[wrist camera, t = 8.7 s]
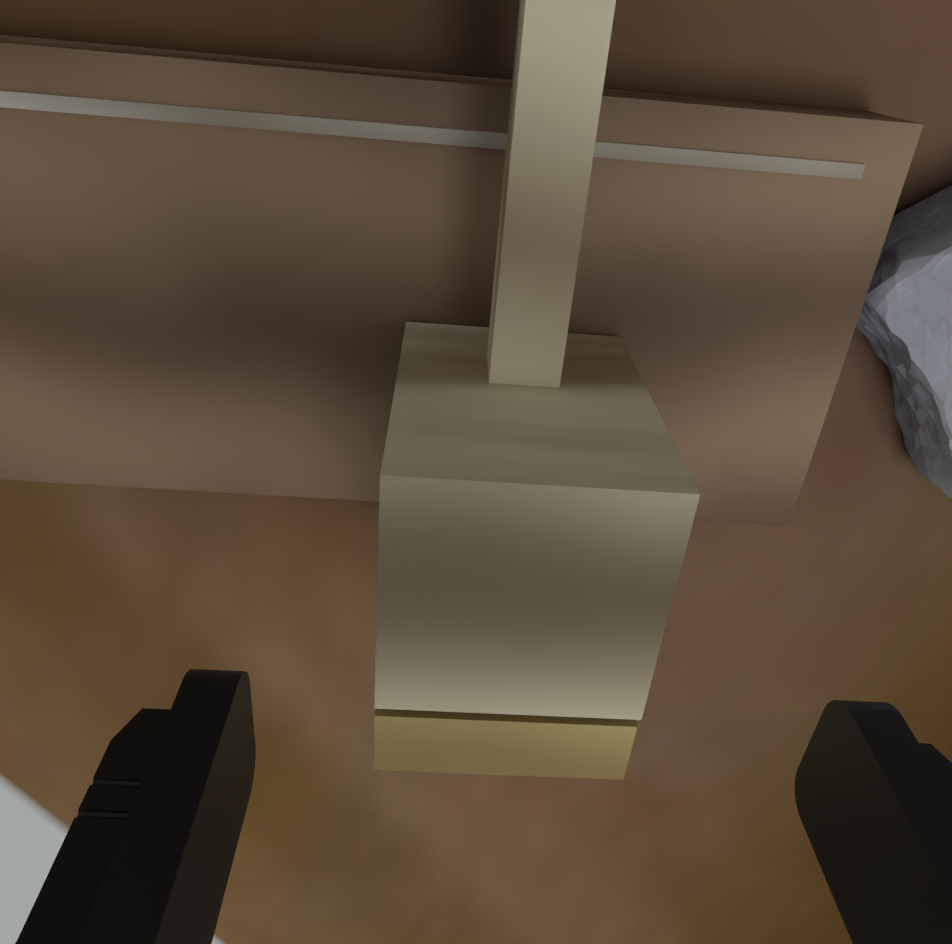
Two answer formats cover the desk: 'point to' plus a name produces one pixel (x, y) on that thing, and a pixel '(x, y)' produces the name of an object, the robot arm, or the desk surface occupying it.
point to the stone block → (917, 329)
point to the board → (399, 264)
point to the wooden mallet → (527, 479)
